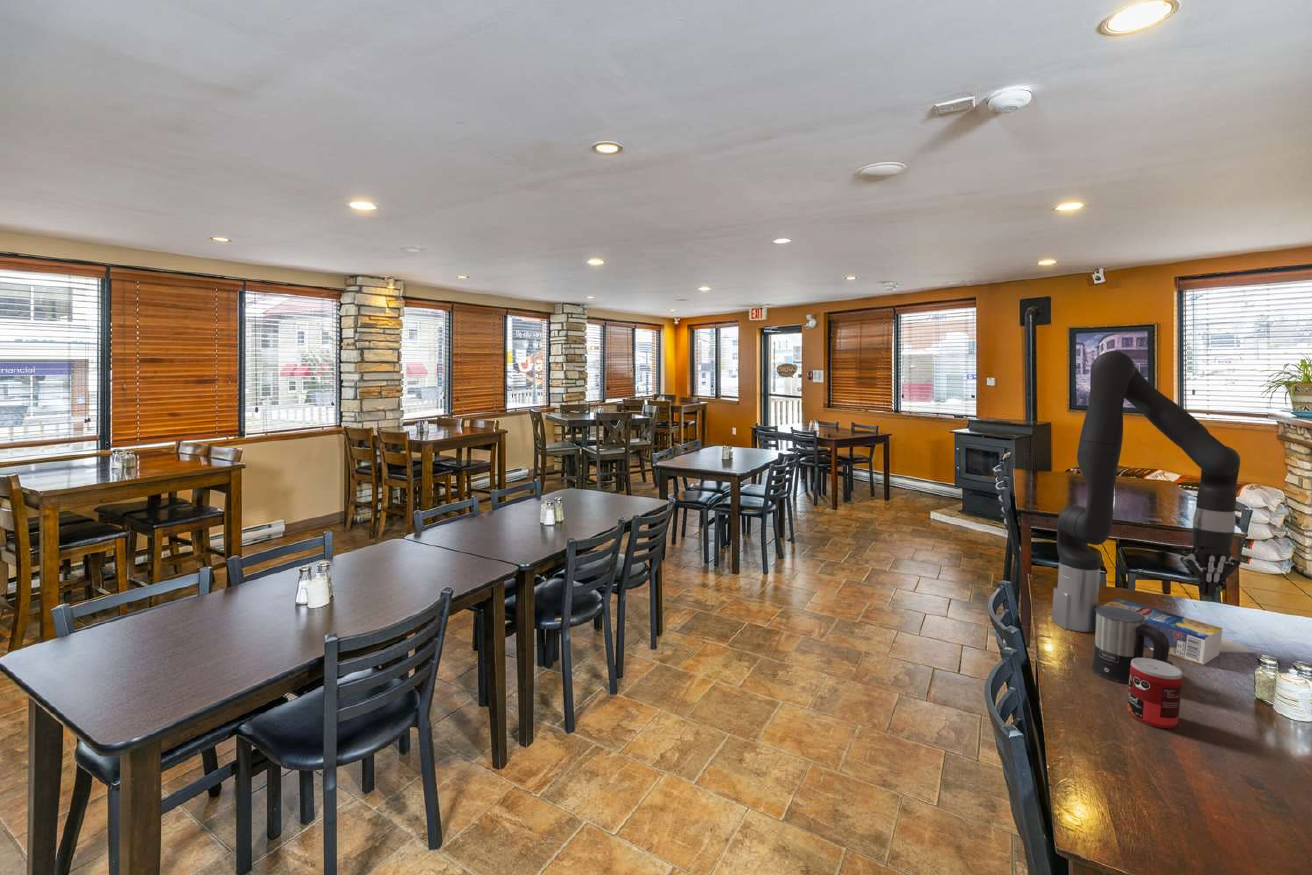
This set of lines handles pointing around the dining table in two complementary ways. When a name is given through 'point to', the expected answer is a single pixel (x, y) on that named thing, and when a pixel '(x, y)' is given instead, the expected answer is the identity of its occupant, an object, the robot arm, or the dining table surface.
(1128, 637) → the milk frother
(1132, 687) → the canned food
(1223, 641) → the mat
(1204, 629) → the beverage box
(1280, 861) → the dining table surface
